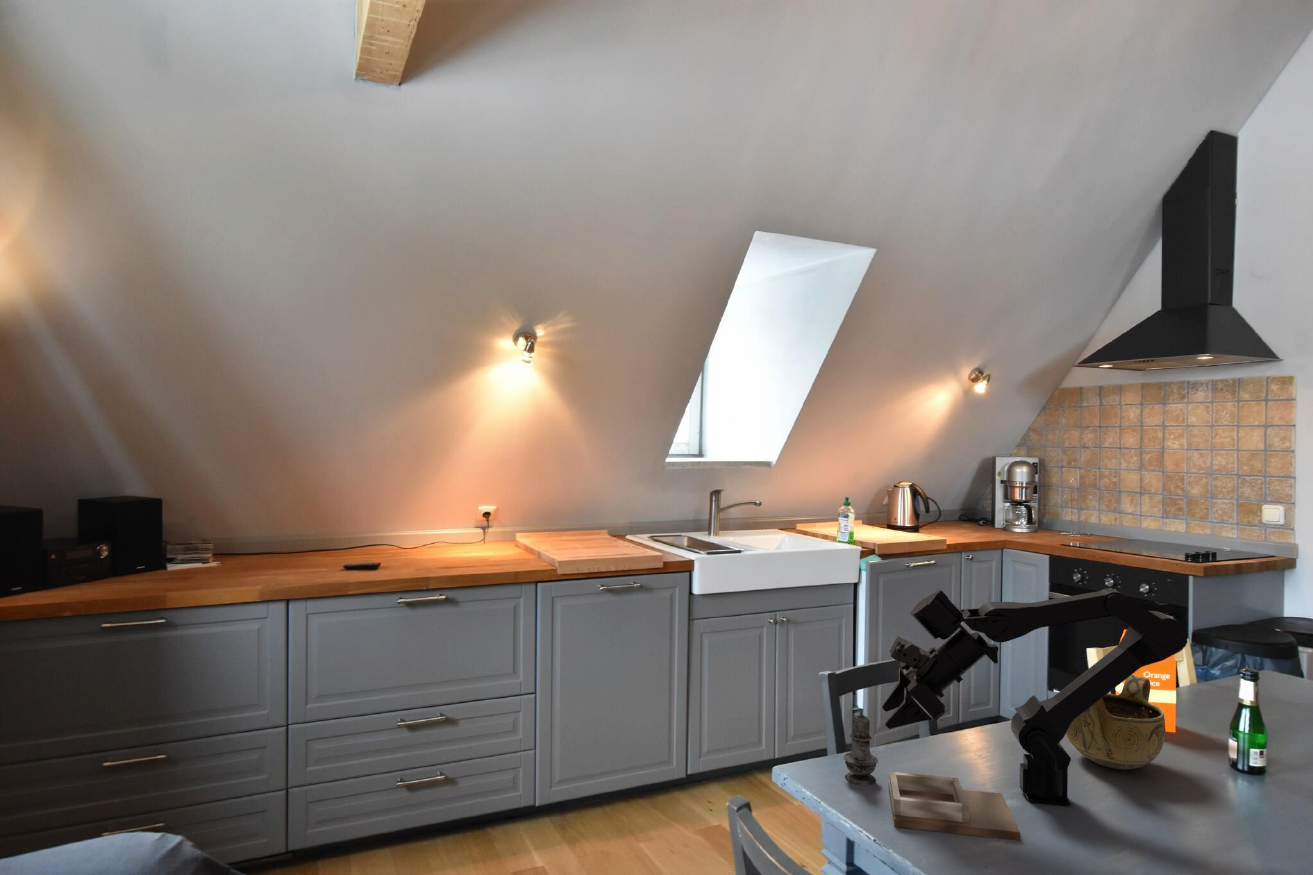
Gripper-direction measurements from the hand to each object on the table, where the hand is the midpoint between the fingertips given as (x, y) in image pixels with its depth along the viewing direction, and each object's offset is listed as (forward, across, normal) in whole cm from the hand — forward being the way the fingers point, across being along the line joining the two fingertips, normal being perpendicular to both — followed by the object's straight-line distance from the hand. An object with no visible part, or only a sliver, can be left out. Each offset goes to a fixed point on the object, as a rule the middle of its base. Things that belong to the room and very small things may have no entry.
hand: (885, 717), depth 143 cm
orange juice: (-32, -44, +47) cm, 72 cm away
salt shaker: (+11, 0, +5) cm, 12 cm away
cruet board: (+1, +10, +14) cm, 18 cm away
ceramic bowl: (-22, -19, +37) cm, 47 cm away
